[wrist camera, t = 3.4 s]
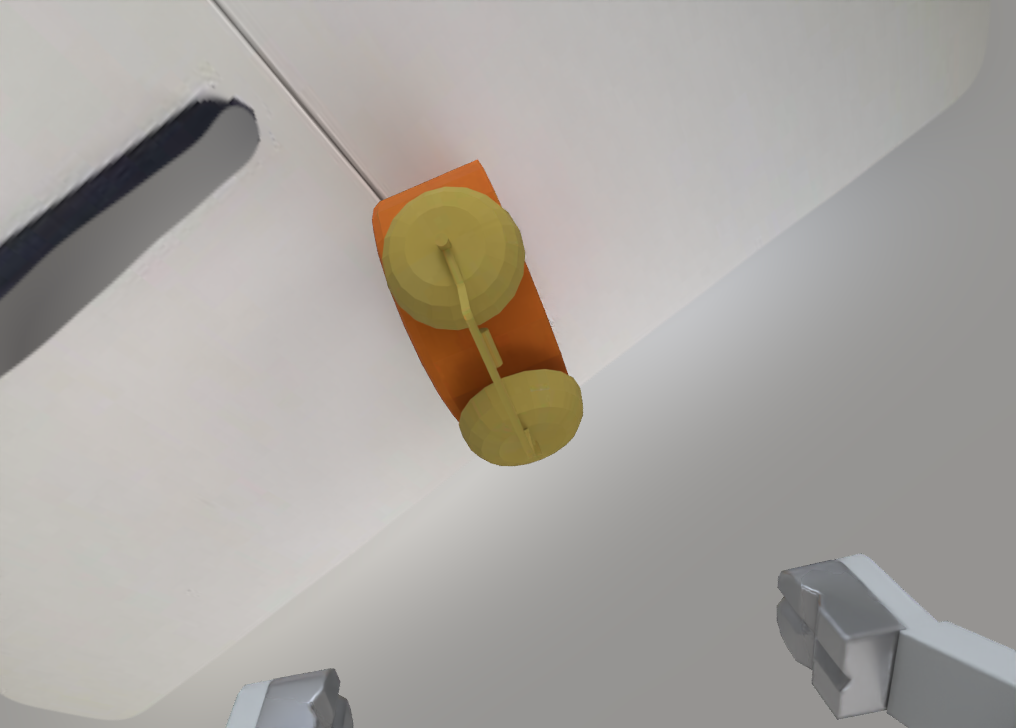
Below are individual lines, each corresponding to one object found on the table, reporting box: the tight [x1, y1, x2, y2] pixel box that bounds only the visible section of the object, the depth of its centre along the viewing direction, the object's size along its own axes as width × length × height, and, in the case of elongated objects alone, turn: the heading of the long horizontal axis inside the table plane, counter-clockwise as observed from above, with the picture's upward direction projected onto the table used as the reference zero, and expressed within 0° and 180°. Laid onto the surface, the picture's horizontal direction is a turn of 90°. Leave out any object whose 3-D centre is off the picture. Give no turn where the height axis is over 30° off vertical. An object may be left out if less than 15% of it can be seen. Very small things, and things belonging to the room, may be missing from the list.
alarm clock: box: [372, 160, 583, 466], centre depth 28 cm, size 13×6×20 cm, turn 22°
